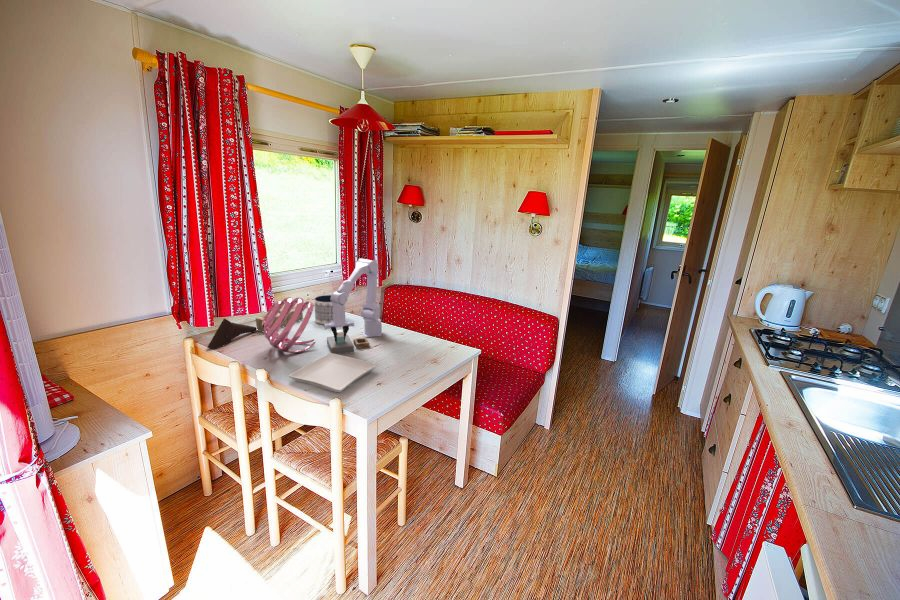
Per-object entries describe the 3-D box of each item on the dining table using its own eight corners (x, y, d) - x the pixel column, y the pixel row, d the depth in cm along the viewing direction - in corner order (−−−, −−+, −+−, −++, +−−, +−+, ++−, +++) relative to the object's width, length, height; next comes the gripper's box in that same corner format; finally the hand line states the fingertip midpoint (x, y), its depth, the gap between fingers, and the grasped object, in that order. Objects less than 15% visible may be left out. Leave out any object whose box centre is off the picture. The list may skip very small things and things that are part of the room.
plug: (342, 344, 201) (342, 329, 199) (344, 347, 197) (344, 332, 195) (335, 344, 200) (335, 330, 197) (337, 348, 196) (337, 333, 193)
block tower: (266, 334, 213) (305, 319, 239) (265, 320, 211) (304, 306, 236) (256, 332, 216) (295, 316, 242) (255, 318, 214) (294, 304, 239)
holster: (242, 354, 210) (204, 346, 187) (252, 326, 214) (216, 314, 191) (249, 356, 209) (212, 348, 186) (259, 327, 213) (224, 316, 190)
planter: (347, 319, 242) (346, 297, 238) (329, 326, 228) (329, 303, 224) (327, 315, 248) (326, 293, 244) (309, 321, 234) (308, 299, 230)
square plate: (330, 359, 186) (329, 351, 185) (377, 371, 176) (378, 363, 175) (287, 382, 162) (286, 374, 161) (340, 398, 152) (340, 389, 151)
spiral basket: (334, 304, 206) (287, 277, 193) (332, 333, 182) (278, 306, 169) (305, 339, 213) (258, 316, 200) (300, 372, 189) (245, 349, 176)
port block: (347, 340, 208) (347, 334, 207) (353, 352, 194) (353, 345, 193) (326, 343, 203) (326, 336, 202) (331, 354, 189) (331, 348, 188)
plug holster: (365, 341, 208) (365, 337, 207) (369, 347, 201) (369, 342, 201) (353, 343, 205) (353, 338, 205) (356, 348, 199) (356, 344, 198)
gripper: (325, 318, 187) (326, 344, 191) (355, 316, 193) (355, 341, 197) (323, 314, 194) (324, 339, 197) (352, 312, 200) (352, 336, 203)
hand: (339, 340), depth 198 cm, fingers closed on plug, 3 cm apart
